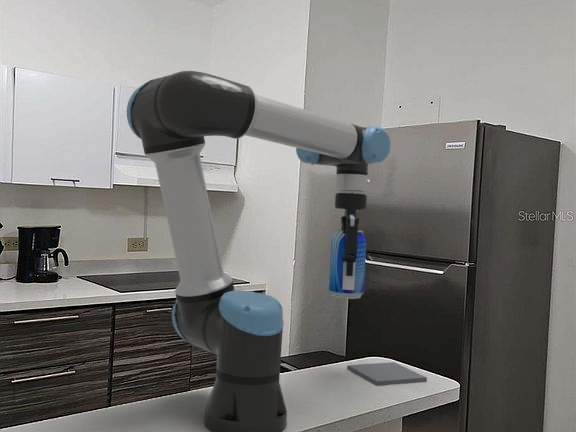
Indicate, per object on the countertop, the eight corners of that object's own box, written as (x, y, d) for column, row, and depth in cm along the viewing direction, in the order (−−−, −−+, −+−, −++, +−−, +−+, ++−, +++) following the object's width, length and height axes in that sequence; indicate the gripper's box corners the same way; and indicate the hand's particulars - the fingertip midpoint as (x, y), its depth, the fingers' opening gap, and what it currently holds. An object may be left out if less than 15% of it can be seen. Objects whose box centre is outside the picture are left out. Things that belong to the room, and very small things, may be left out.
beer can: (341, 300, 136) (344, 231, 135) (322, 294, 143) (325, 228, 143) (370, 298, 140) (374, 231, 139) (350, 293, 147) (353, 229, 147)
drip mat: (376, 385, 136) (377, 381, 136) (347, 369, 148) (347, 365, 148) (426, 381, 141) (426, 377, 141) (393, 366, 154) (394, 362, 154)
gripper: (372, 192, 130) (367, 294, 131) (362, 194, 151) (357, 281, 152) (338, 191, 131) (333, 292, 131) (333, 193, 152) (328, 280, 152)
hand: (346, 286), depth 141 cm, fingers closed on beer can, 8 cm apart
